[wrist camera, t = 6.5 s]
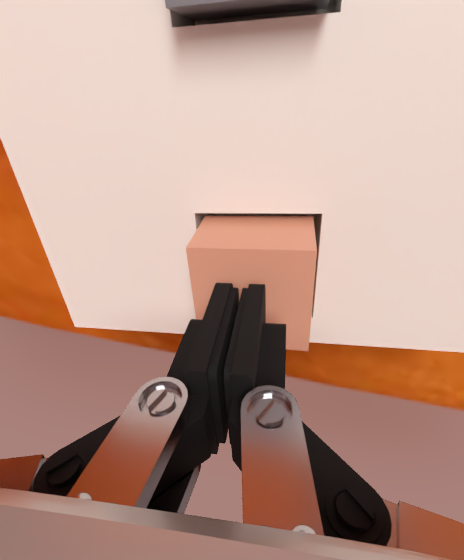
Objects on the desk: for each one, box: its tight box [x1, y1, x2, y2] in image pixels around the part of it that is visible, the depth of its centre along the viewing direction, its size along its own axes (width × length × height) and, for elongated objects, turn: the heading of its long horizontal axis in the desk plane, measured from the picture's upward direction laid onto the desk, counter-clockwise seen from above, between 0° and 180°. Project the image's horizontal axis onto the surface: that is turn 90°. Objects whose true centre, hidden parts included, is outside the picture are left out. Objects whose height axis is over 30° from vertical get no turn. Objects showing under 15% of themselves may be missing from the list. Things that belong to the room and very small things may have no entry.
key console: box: [0, 0, 464, 352], centre depth 13 cm, size 20×19×4 cm
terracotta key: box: [186, 216, 317, 351], centre depth 14 cm, size 4×4×3 cm
